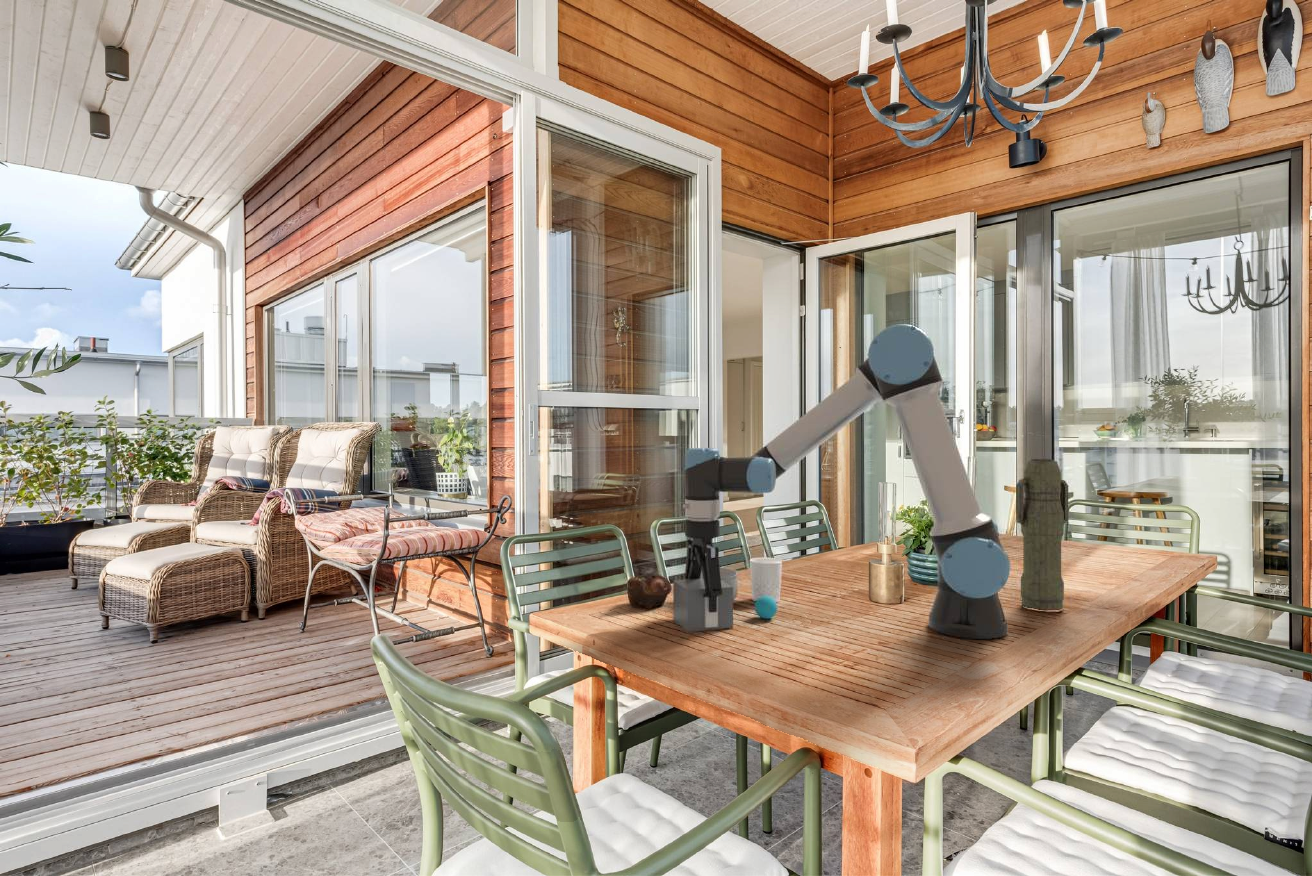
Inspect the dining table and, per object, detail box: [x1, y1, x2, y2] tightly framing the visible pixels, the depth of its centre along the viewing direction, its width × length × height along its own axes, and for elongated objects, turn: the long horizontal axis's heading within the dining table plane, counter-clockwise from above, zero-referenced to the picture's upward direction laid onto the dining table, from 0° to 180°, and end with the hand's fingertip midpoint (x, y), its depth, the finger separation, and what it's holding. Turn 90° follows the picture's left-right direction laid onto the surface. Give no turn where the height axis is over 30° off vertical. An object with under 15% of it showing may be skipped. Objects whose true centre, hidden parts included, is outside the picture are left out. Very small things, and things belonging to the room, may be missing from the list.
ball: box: [754, 596, 778, 620], centre depth 159 cm, size 5×5×5 cm
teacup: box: [683, 566, 739, 601], centre depth 173 cm, size 14×11×8 cm
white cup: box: [749, 556, 783, 603], centre depth 176 cm, size 8×8×10 cm
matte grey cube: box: [672, 578, 734, 633], centre depth 155 cm, size 10×10×9 cm
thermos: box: [1015, 458, 1069, 610], centre depth 167 cm, size 9×12×35 cm
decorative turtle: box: [626, 572, 673, 610], centre depth 171 cm, size 10×15×8 cm, turn 147°
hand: (702, 620), depth 155 cm, fingers closed on matte grey cube, 10 cm apart
